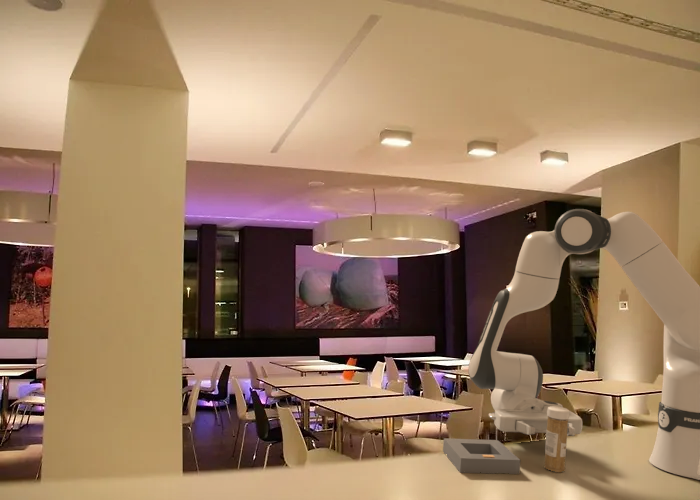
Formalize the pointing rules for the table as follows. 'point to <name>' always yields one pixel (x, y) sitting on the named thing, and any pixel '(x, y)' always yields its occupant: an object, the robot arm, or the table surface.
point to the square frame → (480, 456)
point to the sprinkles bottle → (556, 438)
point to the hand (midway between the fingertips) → (552, 432)
